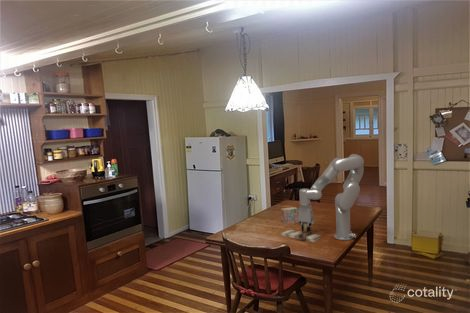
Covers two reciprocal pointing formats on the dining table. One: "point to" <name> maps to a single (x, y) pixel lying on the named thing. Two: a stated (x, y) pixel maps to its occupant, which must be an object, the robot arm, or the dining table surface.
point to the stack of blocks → (289, 215)
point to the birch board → (295, 233)
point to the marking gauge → (303, 235)
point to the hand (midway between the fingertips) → (305, 231)
